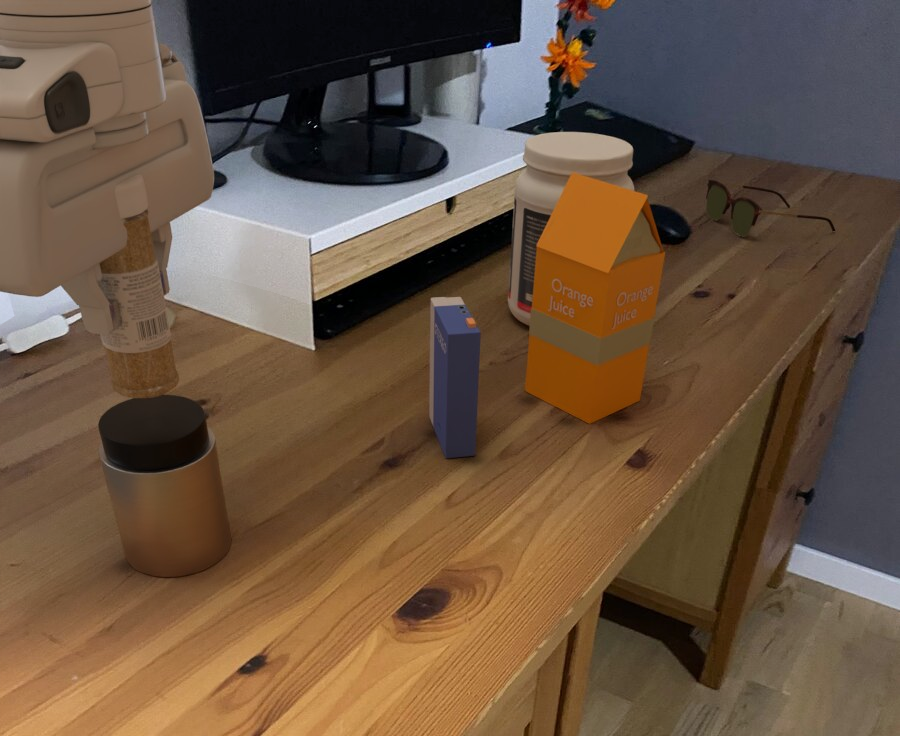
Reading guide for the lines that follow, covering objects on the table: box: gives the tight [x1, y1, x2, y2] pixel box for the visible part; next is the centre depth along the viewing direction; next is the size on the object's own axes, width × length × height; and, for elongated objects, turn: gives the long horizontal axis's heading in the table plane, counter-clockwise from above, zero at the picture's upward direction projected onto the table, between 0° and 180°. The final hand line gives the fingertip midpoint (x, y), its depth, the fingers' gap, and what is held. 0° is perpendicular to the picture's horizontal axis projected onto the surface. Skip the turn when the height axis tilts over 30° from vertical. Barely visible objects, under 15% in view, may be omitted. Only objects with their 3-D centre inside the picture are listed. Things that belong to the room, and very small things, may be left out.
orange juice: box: [524, 172, 666, 425], centre depth 84 cm, size 8×9×20 cm
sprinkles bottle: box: [97, 175, 180, 399], centre depth 57 cm, size 5×5×14 cm
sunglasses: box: [705, 179, 836, 238], centre depth 133 cm, size 14×15×5 cm
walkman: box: [428, 296, 482, 459], centre depth 80 cm, size 8×3×12 cm, turn 12°
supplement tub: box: [507, 131, 636, 327], centre depth 100 cm, size 13×13×18 cm
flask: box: [97, 394, 232, 578], centre depth 67 cm, size 8×8×11 cm
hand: (129, 313), depth 59 cm, fingers closed on sprinkles bottle, 4 cm apart
